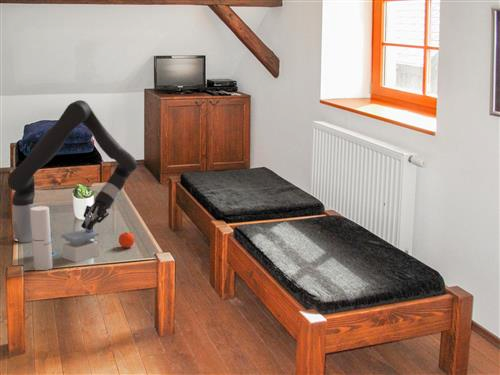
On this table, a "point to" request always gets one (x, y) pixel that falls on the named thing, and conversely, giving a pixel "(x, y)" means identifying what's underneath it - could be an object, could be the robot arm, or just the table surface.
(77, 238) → the lid
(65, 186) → the table surface
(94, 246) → the tub
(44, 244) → the cylindrical container
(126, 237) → the clementine
